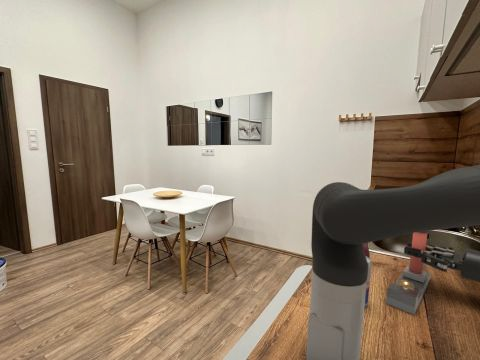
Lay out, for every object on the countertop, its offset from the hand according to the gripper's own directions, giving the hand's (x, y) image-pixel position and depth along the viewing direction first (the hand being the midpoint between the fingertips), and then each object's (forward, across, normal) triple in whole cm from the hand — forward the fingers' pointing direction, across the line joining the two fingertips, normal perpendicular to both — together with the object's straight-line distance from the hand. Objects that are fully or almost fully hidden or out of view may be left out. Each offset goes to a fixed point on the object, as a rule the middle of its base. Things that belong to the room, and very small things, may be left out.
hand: (406, 247), depth 73 cm
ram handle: (-3, 0, +8) cm, 8 cm away
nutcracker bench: (-3, +5, +10) cm, 12 cm away
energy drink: (+6, +21, +10) cm, 24 cm away
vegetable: (+16, -4, +10) cm, 19 cm away
